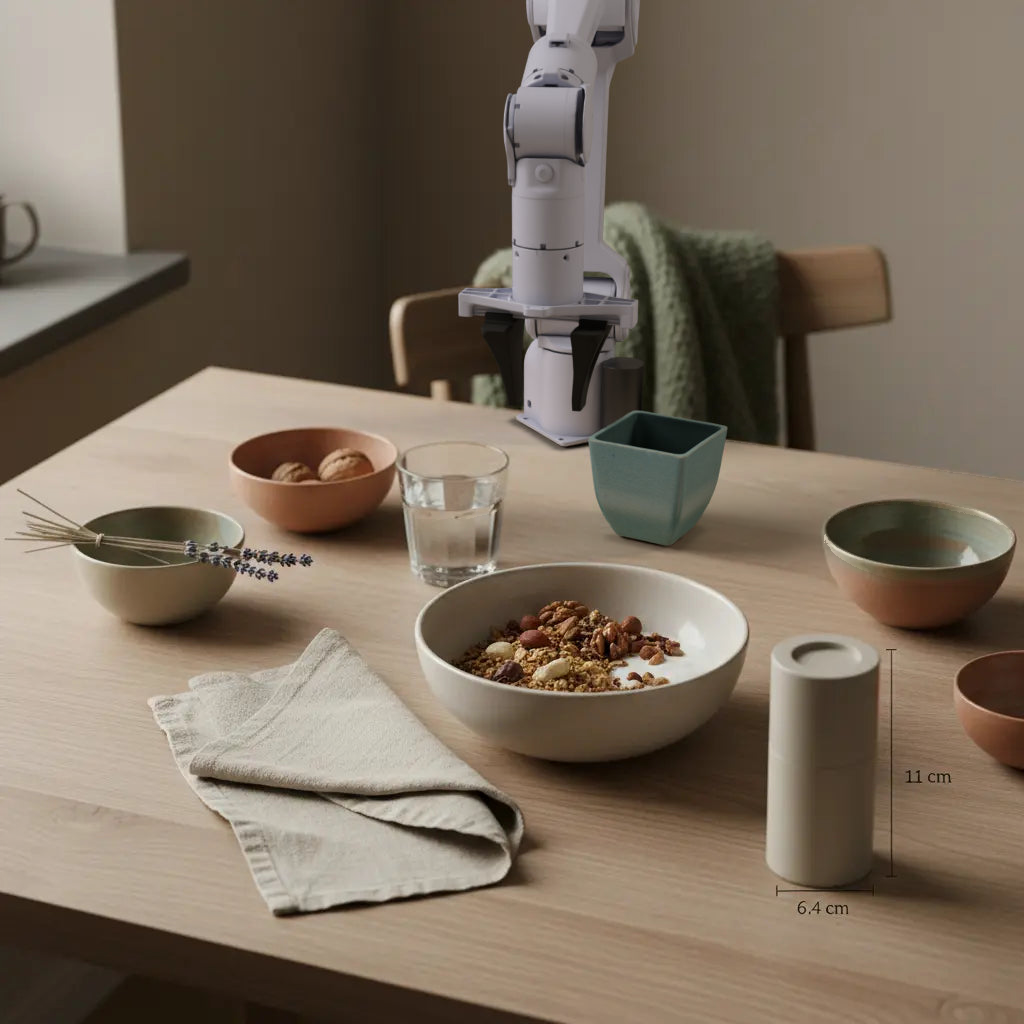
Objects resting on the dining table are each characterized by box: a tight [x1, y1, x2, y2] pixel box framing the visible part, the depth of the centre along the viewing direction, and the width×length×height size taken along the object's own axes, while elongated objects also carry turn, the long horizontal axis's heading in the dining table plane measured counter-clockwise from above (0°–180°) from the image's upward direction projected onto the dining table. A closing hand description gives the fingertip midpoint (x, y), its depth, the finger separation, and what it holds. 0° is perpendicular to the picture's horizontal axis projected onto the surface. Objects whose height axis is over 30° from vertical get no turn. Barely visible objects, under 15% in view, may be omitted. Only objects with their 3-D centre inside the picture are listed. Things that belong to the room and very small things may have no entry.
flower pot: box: [588, 410, 728, 546], centre depth 125 cm, size 9×9×9 cm
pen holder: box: [600, 356, 645, 430], centre depth 146 cm, size 4×4×8 cm
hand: (546, 404), depth 125 cm, fingers open, 5 cm apart
